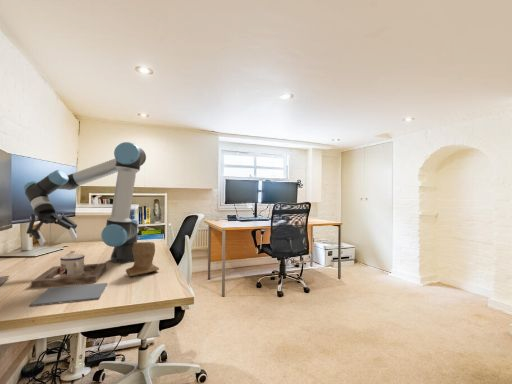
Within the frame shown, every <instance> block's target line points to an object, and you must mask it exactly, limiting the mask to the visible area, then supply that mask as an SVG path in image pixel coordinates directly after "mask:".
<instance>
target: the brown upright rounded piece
mask: <svg viewBox="0 0 512 384" xmlns="http://www.w3.org/2000/svg"><path fill="white" fill-rule="evenodd" d="M155 244H156V243H155V242H154V241H153V242H152V241H145V242H144V241H142V242H141V241H140V242H139V241H137V243H134V244H133V247H132V253H133V258H134V261H133V266H131V267H129V268H126V269H125V272H126V276H128V277H135V276H139V275H143V274H144V275H145V274H149V273H152V272H155V271H158V270H160V268H159V267H158V266H156V265H154V264H153V260H154V257H155V253H156V245H155Z"/></svg>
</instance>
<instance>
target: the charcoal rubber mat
mask: <svg viewBox="0 0 512 384" xmlns="http://www.w3.org/2000/svg"><path fill="white" fill-rule="evenodd" d="M107 286H108V282H104V283H103V282H101V283H87V284H80V285H79V284H76V285H64V286H56V287H55V286H53V287H48V288H47V289H46V290H45V291H43V292H42V293H41V294H39V296H38V297H37V298H36V299H34V300H32V302H31V303H30V304H29V305H28V307H36V306H35V305H37V306H43V305H42V304H47V305H51V304H50V303H57V304H60V303H59V302H66V303H71V302H70V301H76V302H82V301H81V300H85V301H92V300H91V299H95V300H99V299H100V298H101V296H102V295H103V293H104V292H105V289H106V288H107ZM105 287H106V288H105ZM101 294H102V295H101Z"/></svg>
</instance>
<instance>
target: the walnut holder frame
mask: <svg viewBox="0 0 512 384" xmlns="http://www.w3.org/2000/svg"><path fill="white" fill-rule="evenodd" d="M60 266H61V265H56V266H51V267H50V268H49V269H47V270H46V271H45V272H43V273H42V274H40V275H39V276H37V277H35V278H34V279H33V280H32V281H31V282H30V286H31V287H30V288H31V289H33V288H35V289H36V288H47V287H55V286H56V287H60V286H71V285H79V284H80V285H83V284H94V283H97V281H98V280H99V279H100V277H101V276H102V274H103V273H104V272H105V270H106V269H107V263H105V262H103V263H91V264H90V263H89V264H84V272H91V273H90V274H85V275H84V274H83V275H82V276H69V277H60V276H59V277H56V276H57V275H58V274H60ZM93 282H94V283H93Z"/></svg>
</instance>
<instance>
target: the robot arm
mask: <svg viewBox="0 0 512 384" xmlns="http://www.w3.org/2000/svg"><path fill="white" fill-rule="evenodd" d="M113 154H114V155H113V156H114V158H113V159H112V158H111V159H109V160H107V161H104V162H101V163H98V164H95V165H93V166H90V167H87V168H84V169H81V170H79V171H76V172H73V173H71V174H66V173H65V172H64V171H62V170H60V169H56V170H54V171H53V172H50V173H49V174H47V176H45V177H44V178H42V179H41V180H39V181H36V180H33V181H30V182H26V184H24V185H23V191H24V194H25V196H26V198H27V199H28V202H29V204H30V205H31V206H30V207H31V208H32V210H33V212H34V214H33V213H32V214H30V217H29V224H28V226H27V230H26V234H27V235H29V234H30V235H31V236H33V237H34V239H35V240H37V242H38V243H39V245H40V246H41V247H42V246H44V245H45V243H46V240H45V237H44V236H43V234H42V232H41V230H40V228H41V227H42V225H43V224H46V225H47V224H48V225H49V224H55V225H59V226H61V227H62V228H65V229H66V230H67V231H68V233H69V236H70V237H71V239H72V241H73V242H77V240H78V238H79V237H78V235H77V230H76V228H77V226H78V224H76V223H75V222H74V221H73V220H72V219H70V218H68V216H66V214H65V213H64V212H61V213H59V214H58V213H57V212H56V209H55V207H54V206H53V203H52V201H51V199H50V198H49V195H51V194H52V193H54V192H55V191H57V190H67V191H72V190H75V189H77V188H79V187H80V186H82V185H85V184H88V183H91V182H94V181H96V180H99V179H102V178H105V177H108V176H111V175H113V174H115V173H117V175H116V183H115V189H114V194H113V200H112V201H113V202H112V207H111V213H110V217H109V216H108V218H106V224H105V227H104V228H103V229H102V231H101V234H100V237H101V240H102V242H103V243H104V245H106V246H109V247H112V248H113V249H112V252H111V254H110V259H109V261H111V262H113V263H129V262H134V258H133V253H132V247H133V244H134V243H137V242H138V231H139V230H138V226H139V224H138V219H134V218H133V219H131V217H130V214H131V207H132V203H133V196H134V195H133V194H134V189H135V182H136V175H137V173H138V172H139V171H140V170H141V166H142V165H144V164H145V163H146V160H147V155H146V152H145V150H143V148H141V147H139V146H138V145H137V144H136V143H133V142H130V141H126V142H121V143H119V144H118V145H117V146H116V147H115V148H114V151H113ZM36 220H38V221H39V223H37V225H36V227H35V228H34V224H35V222H36ZM33 228H34V229H33Z"/></svg>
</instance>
